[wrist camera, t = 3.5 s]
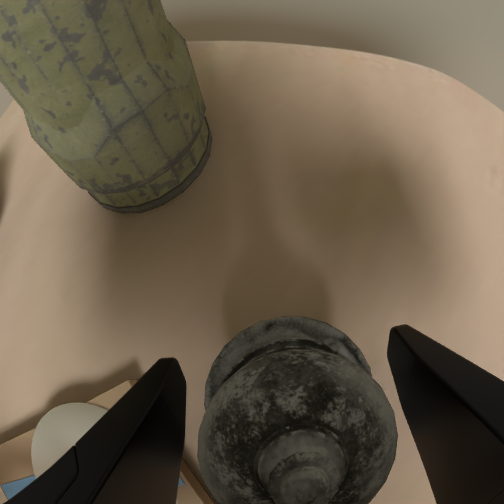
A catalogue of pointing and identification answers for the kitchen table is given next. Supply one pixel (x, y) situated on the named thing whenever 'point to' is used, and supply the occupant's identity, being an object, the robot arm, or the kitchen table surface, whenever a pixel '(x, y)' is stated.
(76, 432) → the board
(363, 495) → the dark grey chess piece
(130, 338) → the kitchen table surface
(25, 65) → the thermos
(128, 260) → the kitchen table surface
